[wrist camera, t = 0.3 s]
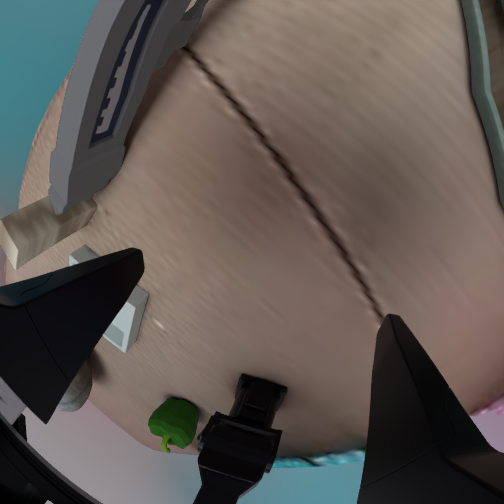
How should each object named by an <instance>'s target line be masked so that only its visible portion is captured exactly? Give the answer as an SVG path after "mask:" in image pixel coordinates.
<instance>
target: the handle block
mask: <svg viewBox="0 0 504 504" xmlns="http://www.w3.org/2000/svg"><path fill="white" fill-rule="evenodd" d="M97 206H98V205H97V204H96V203H95V202H94V200H93V199H92V198H91V199H89V200H87V201H81V202H79V203H77V204H76V205H74V206H73V207H71V208H70V209H68V210H67V211H65V212H64V213H61V214H58V215H57V214H56V213H55V211H54V209H53V206H52V205H51V203H50V200H49V196H47V197H45V198H43V199H41V200H38V201H36V202H34V203H32V204H30V205H28V206H26V207H24V208H22V209H20V210H18V211H16V212H14V213H12V214H10V215H8V216H6V217H4V218H2V219H1V222H0V244H1V246H2V248H3V249H4V251H5V253H6V255H7V256H8V258H9V260H10V261H11V263H12V265H13V266H14V268H15V270H17V269H18V268H19V267H21V266H22V265H24V264H25V263H27V262H28V261H30V260H31V259H33V258H34V257H36V256H37V255H39V254H40V253H42V252H43V251H45V250H47V249H48V248H50V247H51V246H53V245H55V244H56V243H58V242H59V241H61V240H63V239H64V238H66V237H68V236H69V235H71V234H73V233H74V232H76V231H78V230H80V229H81V228H83V227H85V226H87V225H88V223H89V221H90V219H91V217H92V215H93V213H94V212H95V210H96V208H97Z"/></svg>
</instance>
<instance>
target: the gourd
mask: <svg viewBox="0 0 504 504" xmlns="http://www.w3.org/2000/svg"><path fill="white" fill-rule="evenodd" d="M91 388H92V372H91V367H90V363H89V361H88V359H86V361H85V362H84V364H83V365H82V367H81V368H80V370H79V372H78V373H77V375H76V376H75V378H74V379H73V381H72V383H70V386H69V388H68V389H67V391H66V393H65V394H64V396H63V398H62V399H61V401H60V403H59V404H58V406H57V408H56V409H58V410H60V411H66V412H73V411H76V410H78V409H80V408H81V407H82V406H83V404H84V403H85V402H86V400H87V399H88V397H89V394H90V391H91Z"/></svg>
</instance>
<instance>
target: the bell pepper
mask: <svg viewBox="0 0 504 504" xmlns="http://www.w3.org/2000/svg"><path fill="white" fill-rule="evenodd" d="M197 423H198V412H197V409H196V408H195V407H194V406H193V405H192V404H190V403H189V402H187V401H185V400H181V399H179V400H176V399H173V398H170V399H168V400H166V401H165V402H164V403H163V404H161V405H160V406H159V407H158V408H157V409H156V410H155V411H154V412H153V414H152V415H151V417H150V418H149V422H148V426H149V427H150V431H151V433H153V434H154V435H157V436H161V437H162V438H163V440H162V443H161V445H162V449H163V450H164V451H165V452H167V453H170V449H169V448H167V443H168V444H169V445H177V446H178V447H180V448H182V449H184V448H185V447H186V446H188V445H189V444H190V443H191V442H192V440H193V438H194V436H195V433H196V429H197Z"/></svg>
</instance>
